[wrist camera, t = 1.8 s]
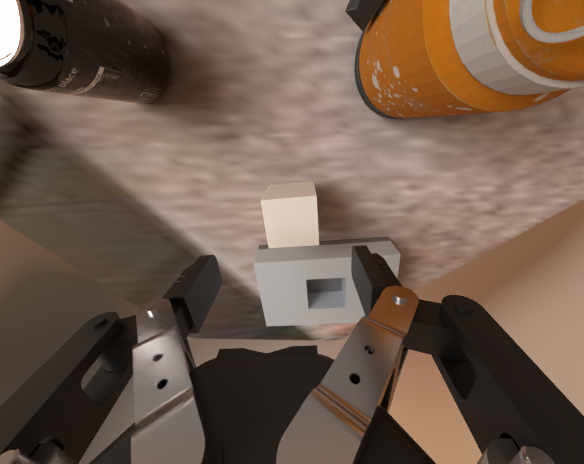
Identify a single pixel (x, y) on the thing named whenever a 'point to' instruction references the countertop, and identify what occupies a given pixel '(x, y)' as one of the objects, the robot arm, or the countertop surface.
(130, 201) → the countertop surface
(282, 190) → the cream rectangular block
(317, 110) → the countertop surface
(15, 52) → the beverage can
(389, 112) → the canister
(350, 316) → the grey rectangular block
